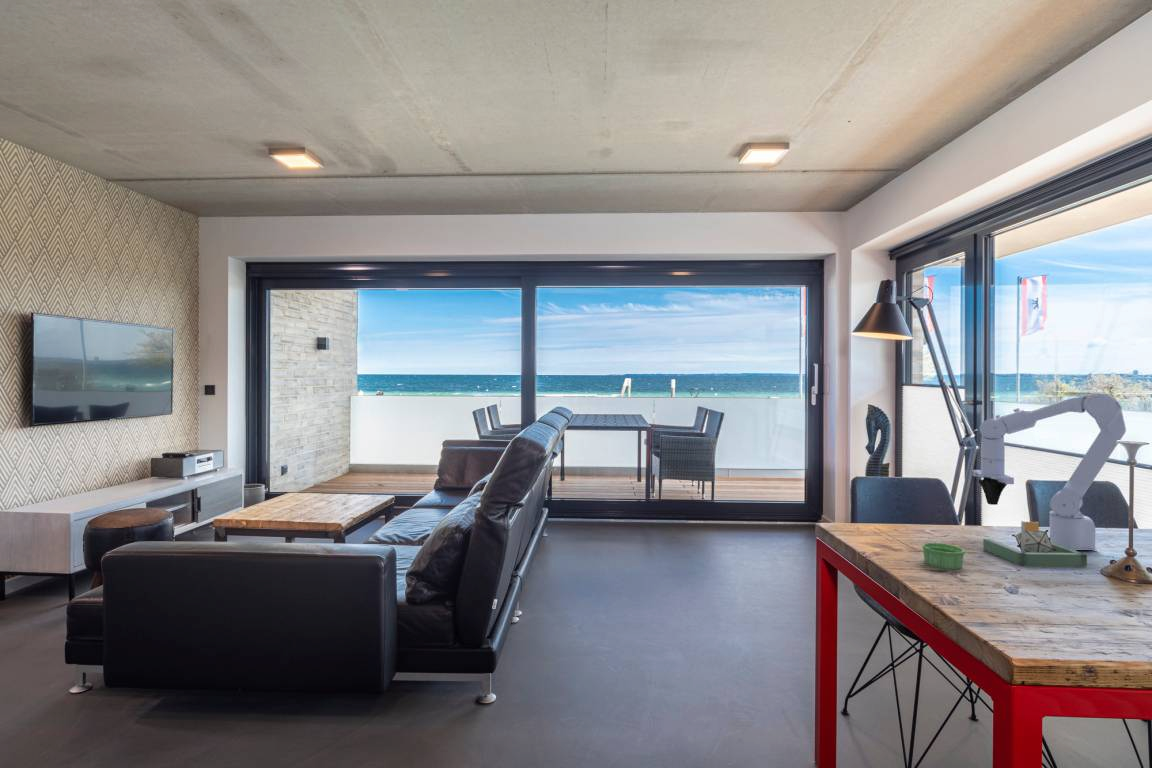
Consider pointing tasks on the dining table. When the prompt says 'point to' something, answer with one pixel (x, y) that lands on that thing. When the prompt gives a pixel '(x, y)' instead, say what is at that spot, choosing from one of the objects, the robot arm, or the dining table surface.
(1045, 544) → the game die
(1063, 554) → the green tray
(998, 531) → the dining table surface
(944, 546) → the ramekin
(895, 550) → the dining table surface
